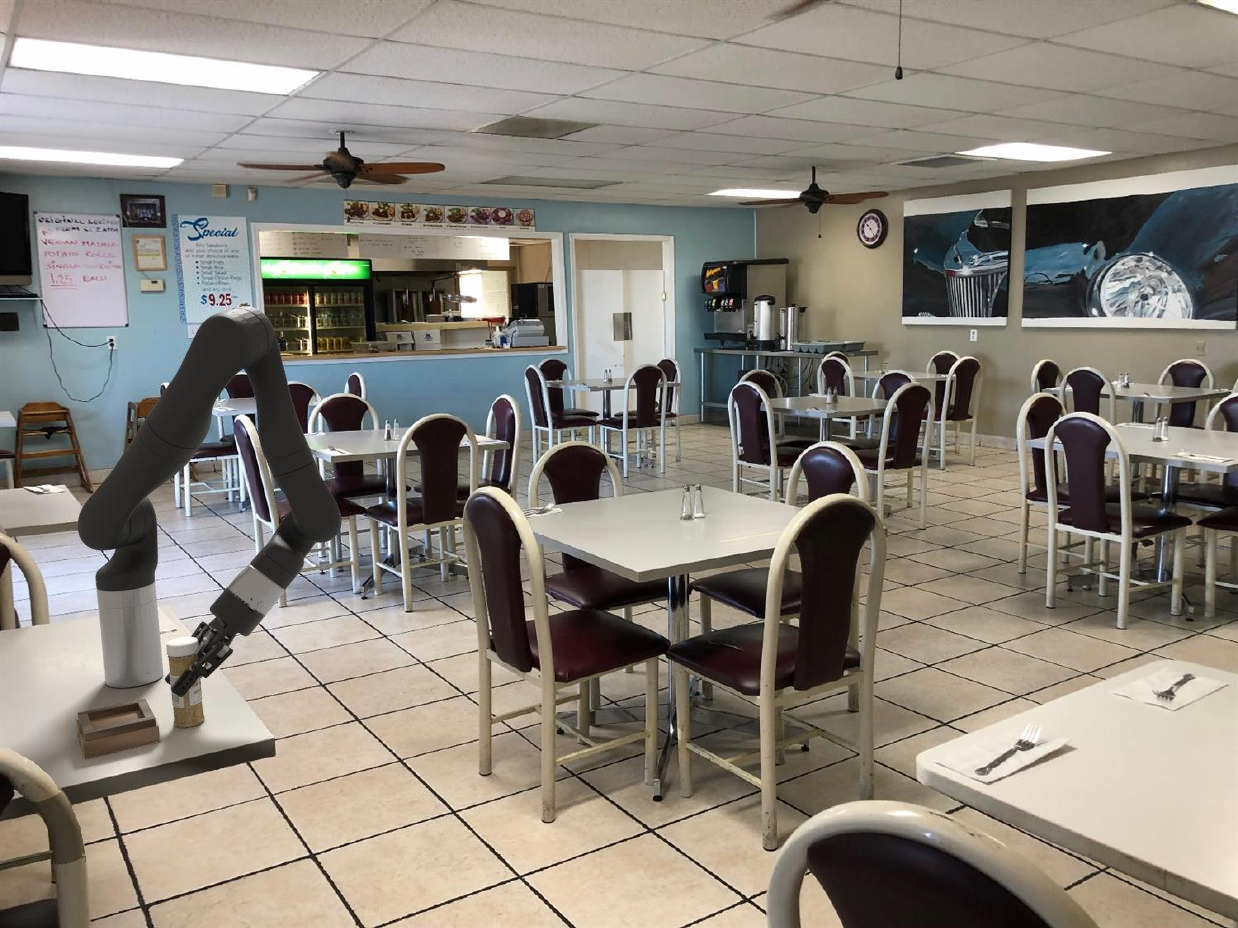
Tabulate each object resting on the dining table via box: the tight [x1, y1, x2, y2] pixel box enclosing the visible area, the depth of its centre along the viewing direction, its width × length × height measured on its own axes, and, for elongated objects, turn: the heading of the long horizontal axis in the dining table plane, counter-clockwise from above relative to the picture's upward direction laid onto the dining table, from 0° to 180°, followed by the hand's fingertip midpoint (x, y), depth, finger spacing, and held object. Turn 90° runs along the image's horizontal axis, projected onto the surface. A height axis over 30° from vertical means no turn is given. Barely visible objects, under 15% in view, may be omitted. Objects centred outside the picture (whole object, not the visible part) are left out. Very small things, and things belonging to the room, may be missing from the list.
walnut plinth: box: [75, 698, 161, 760], centre depth 148 cm, size 10×10×4 cm
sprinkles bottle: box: [165, 636, 206, 728], centre depth 153 cm, size 5×5×13 cm
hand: (172, 688), depth 152 cm, fingers closed on sprinkles bottle, 4 cm apart
